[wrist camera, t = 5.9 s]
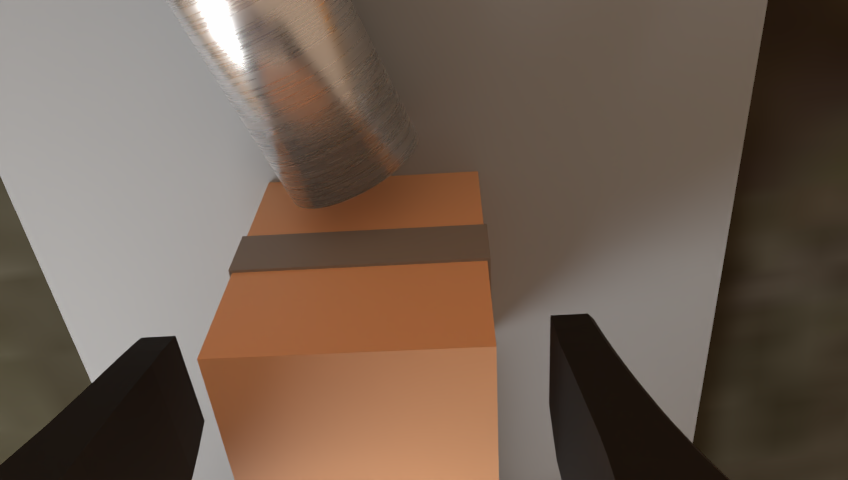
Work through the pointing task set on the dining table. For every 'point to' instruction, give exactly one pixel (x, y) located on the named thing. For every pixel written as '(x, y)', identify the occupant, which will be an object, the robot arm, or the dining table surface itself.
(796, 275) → the dining table surface
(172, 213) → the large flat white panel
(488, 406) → the taped shipping carton
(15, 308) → the dining table surface
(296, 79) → the output shaft
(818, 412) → the dining table surface
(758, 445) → the dining table surface
